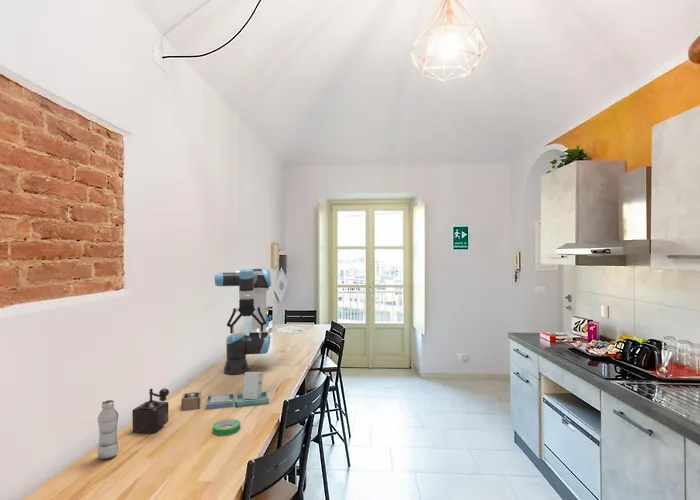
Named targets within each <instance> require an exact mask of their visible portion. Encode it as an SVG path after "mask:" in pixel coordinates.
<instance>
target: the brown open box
mask: <svg viewBox="0 0 700 500" xmlns="http://www.w3.org/2000/svg"><path fill="white" fill-rule="evenodd" d="M188 393H189V392H185V393H183V395H182V397H181V400H180V403H181V409H180V410H181V411H190V410H200V409H201V405H202V391H196V392H194V393H196V397H194V398H188Z"/></svg>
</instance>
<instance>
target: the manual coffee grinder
mask: <svg viewBox="0 0 700 500" xmlns="http://www.w3.org/2000/svg"><path fill="white" fill-rule="evenodd" d="M148 394H149V400H148V401H145V402H143V403H142V404H140V405H138V406H137V407H135V408H133V409H132V431H131V432H132V433H134V434H135V433H136V434H155V433H157V432H159V431H160V430H162V429H164V428H165V425H166V424H168V422H169V401H167V396H168V395H169V394H170V391H169V389H168V388H162V389H160V390H159V393H154V392H153V388H150V389H149V393H148ZM154 396H155V397H157V398H159V401H158V400H153V397H154Z"/></svg>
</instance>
